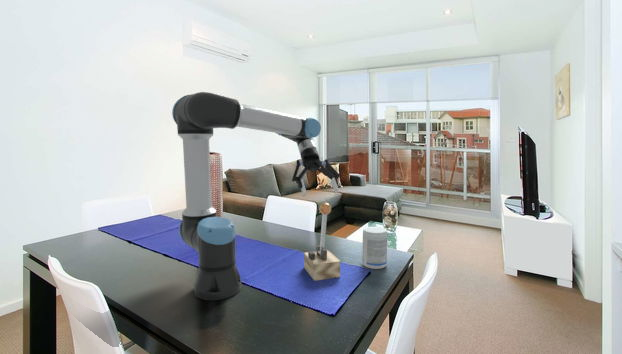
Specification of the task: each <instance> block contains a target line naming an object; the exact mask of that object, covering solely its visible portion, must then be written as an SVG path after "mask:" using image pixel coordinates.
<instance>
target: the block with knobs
mask: <svg viewBox="0 0 622 354" xmlns="http://www.w3.org/2000/svg"><path fill="white" fill-rule="evenodd" d="M319 249H320V244H319V245H316V250H315V251H313V250H309V251H306V252H304V253H303V268H304V270H305V271H306V272H307V273H308V275H309V276H310V277H311V279H312V280H313V281H314V282H317V281H322V280H329V279H335V277H336V278H340V277H341V260H340V259H339V258H337V256H335V255H334V253H332V252H331V251H330V250H328V249H326V248H324V250H321V256H320V255H319V254H318V250H319Z"/></svg>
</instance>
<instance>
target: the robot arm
mask: <svg viewBox="0 0 622 354" xmlns="http://www.w3.org/2000/svg"><path fill="white" fill-rule="evenodd" d="M172 107H173V108H172V111H171V112H172V113H171V115H172V119H173V121H174V123H175V124H176V128H177V129H176V130H177V136H179V138H180V139H181V140H182V147H183V148H182V150H183V152H182V153H183V167H184V171H183V172H184V186H185V187H184V188H185V204H186V205H185V206H186V207H185V209H184V210H183V211H182V213H181V221H180V223H179V225H178V226H179V227H178V233H179V237H180V239H181V240H182V241H183V242H184V243H185V244H186V245H188V247H190V248H192V249H193V250H194V251H196V252H197V253H198V267H199V268H198V272H197V275H196V279H195V282H194V285H193V288H194V289H193V292H194V295H195V297H196V298H197V299H200V300H204V301H221V300H224V299H225V300H226V299H228V298H231V297H233V296H235V295H237V294H238V293H239V292H240V291H241V290H242V288H243V287H242V279H241V276H240V273H239V270H238V268H237V266H236V265H237V264H236V263H237V262H236V261H237V260H236V235H237V233H236V229H235V223H234V222H233V221H232V220H231V219H229V218H227V217H221V216H217V209H216V208H215V207H214V206H213V205H212V203H213V202H212V201H213V200H212V181H211V180H212V177H211V176H212V175H211V155H210V152H211V151H210V140H211V138H212V137H213V136H214V129H218V128H219V129H221V128H223V129H230V130H234V129H236V128H237V127H239V128H244V129H251V130H255V131H256V130H257V131H262V132H263V131H264V132H268V133H275V134H276V135H279V136H281V137H284V138H286V139H288V140H290V141H292V142H294V143H296V145H297V149H298V151H299V155H300V159H301V160H300V159H297V160H296V162H295V169H294V173H293V175H292V179H291V182H295V184H297V188H298V189H300V190H301V194H302V197H303V198H304V197H306V194H307V189H306V186H305V182H304V179H303V177H304V176H305V175H306V173H308V172H319V173H321V174H323V175H324V176H326V177H327V178H328V179H330V184H331V186H332V189H333V192H334V195H338V193H339V191H340V190H339V181H338V180H339V178H340V176H341V174H340V173H339V172H338V170H336V169H335V168H334V167H333V166H332V165H331V164H330V163H329V161H328V159H326V158H325V159H324V160H321V158H320V155H319V151H318V149H317V145H316V143H315V141H314V138H317V137H318V136H319V135H320V134H321V130H322V126H321V123H320V120H318V119H317V118H315V117H308V118H307V117H302V116H296V115H293V114H288V113H284V112H279V111H274V110H271V109H265V108H260V107H256V106H253V105H252V106H251V105H247V104H243V103H240V101H239V99H236V98H230V97H228V96H227V97H226V96H224V95H220V94H217V93H212V92H205V91H200V92H195V93H192V94H187V95H184V96H182V97H180V98H179V99H177V100H176V101H175V103H174V104H173V106H172ZM301 166H303V169H302V171H301V172H300V174H299V175H298V173H299V170H300V167H301Z"/></svg>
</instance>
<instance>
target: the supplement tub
mask: <svg viewBox="0 0 622 354" xmlns="http://www.w3.org/2000/svg"><path fill="white" fill-rule="evenodd" d="M387 260H388V230H387V229H386V228H385V227H381V226H366V227H364V228H363V230H362V265H363V266H364V267H366V268H368V269H372V270H381V269H384V268H386V266H387V262H388V261H387Z"/></svg>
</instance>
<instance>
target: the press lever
mask: <svg viewBox="0 0 622 354" xmlns="http://www.w3.org/2000/svg"><path fill="white" fill-rule="evenodd" d="M318 210H319V212H320V214H322V215H321V229H320V242H319V245H320V249H319V250H318V254H319V255H320V256H321V250H324V249H325V247H326V246H325V245H326V233H327V220H328V214H330V213H331V211H332V207H331V204H330V203H327V202H323V203H321V204H320V205H319V209H318Z"/></svg>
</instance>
